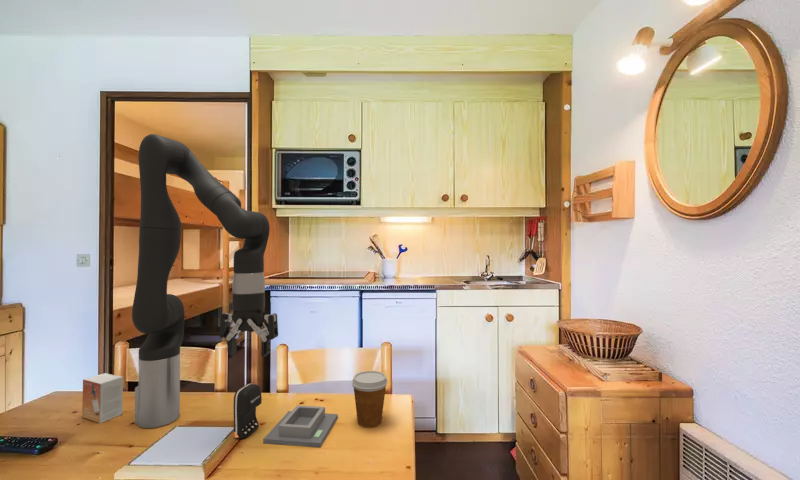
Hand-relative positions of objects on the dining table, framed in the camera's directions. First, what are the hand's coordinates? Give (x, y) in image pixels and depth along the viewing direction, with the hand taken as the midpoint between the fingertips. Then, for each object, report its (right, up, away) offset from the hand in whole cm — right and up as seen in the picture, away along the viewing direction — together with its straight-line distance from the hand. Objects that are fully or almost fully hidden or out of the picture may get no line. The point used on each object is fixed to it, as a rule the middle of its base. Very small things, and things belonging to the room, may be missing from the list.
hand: (249, 355), depth 89 cm
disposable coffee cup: (+30, -20, +5) cm, 36 cm away
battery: (0, -20, 0) cm, 20 cm away
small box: (-43, -20, +8) cm, 48 cm away
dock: (+13, -19, +1) cm, 23 cm away
